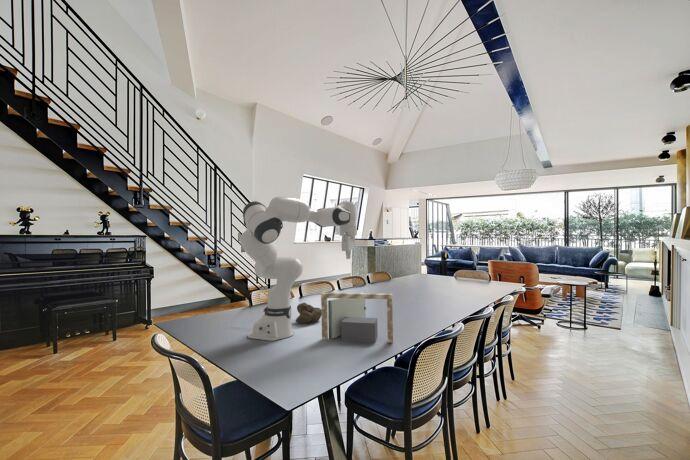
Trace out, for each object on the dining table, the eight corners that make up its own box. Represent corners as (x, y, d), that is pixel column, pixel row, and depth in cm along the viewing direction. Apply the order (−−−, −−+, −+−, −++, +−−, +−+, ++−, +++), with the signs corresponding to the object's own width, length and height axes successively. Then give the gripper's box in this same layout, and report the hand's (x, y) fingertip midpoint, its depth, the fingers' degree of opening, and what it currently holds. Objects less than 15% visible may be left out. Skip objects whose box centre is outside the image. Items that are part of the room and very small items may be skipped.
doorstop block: (341, 340, 145) (341, 321, 145) (345, 334, 154) (345, 316, 154) (375, 342, 141) (374, 323, 142) (377, 336, 151) (377, 317, 151)
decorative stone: (321, 314, 170) (296, 304, 170) (314, 333, 170) (289, 323, 171) (324, 306, 186) (301, 297, 186) (318, 322, 186) (295, 313, 187)
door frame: (321, 340, 146) (321, 293, 146) (323, 338, 148) (322, 292, 149) (393, 343, 140) (392, 294, 141) (393, 341, 143) (392, 293, 143)
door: (331, 339, 145) (330, 301, 145) (327, 338, 147) (326, 300, 147) (366, 325, 166) (366, 292, 166) (362, 324, 167) (362, 291, 168)
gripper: (350, 232, 151) (351, 260, 151) (356, 232, 171) (356, 257, 171) (338, 232, 152) (338, 260, 152) (345, 232, 172) (345, 257, 172)
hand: (348, 258), depth 161 cm, fingers closed
